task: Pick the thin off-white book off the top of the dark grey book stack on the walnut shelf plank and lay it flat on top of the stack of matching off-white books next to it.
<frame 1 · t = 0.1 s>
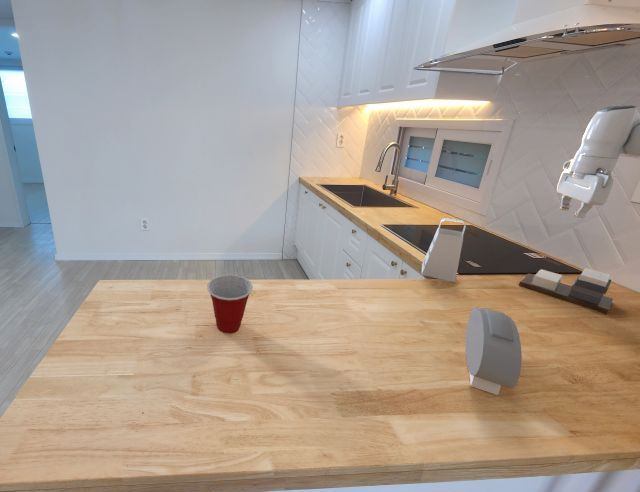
hand: (570, 213, 101), 27 cm above the counter, tool pointing down, fingers open, 8 cm apart
alarm clock: (480, 367, 75), on the counter
plastic cup: (227, 327, 84), on the counter
shelf plank: (562, 293, 112), on the counter
white stack: (545, 283, 115), resting on shelf plank
white book: (593, 279, 106), point 7 cm above the counter, touching grey stack
grater: (437, 273, 122), on the counter
grey stack: (585, 295, 108), resting on shelf plank
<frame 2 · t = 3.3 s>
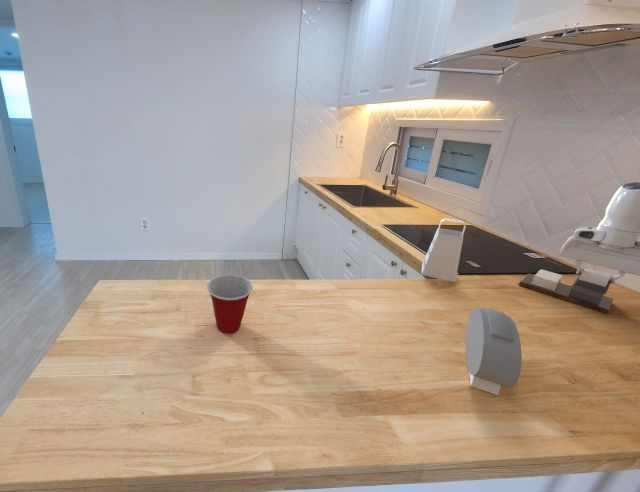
hand: (594, 278, 106), 8 cm above the counter, tool pointing down, fingers closed on white book, 6 cm apart
white book: (593, 279, 106), point 7 cm above the counter, touching grey stack, gripper
everything else where it was.
when the fingers open (5 cm above the counter, at t = 10.3 s): white book stays where it is, resting on white stack.
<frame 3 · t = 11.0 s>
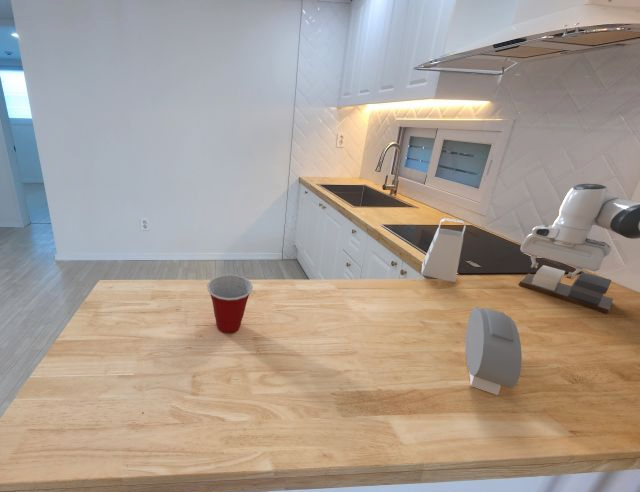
hand: (551, 272, 114), 6 cm above the counter, tool pointing down, fingers open, 8 cm apart
white book: (549, 275, 114), point 5 cm above the counter, touching white stack
everything else where it was.
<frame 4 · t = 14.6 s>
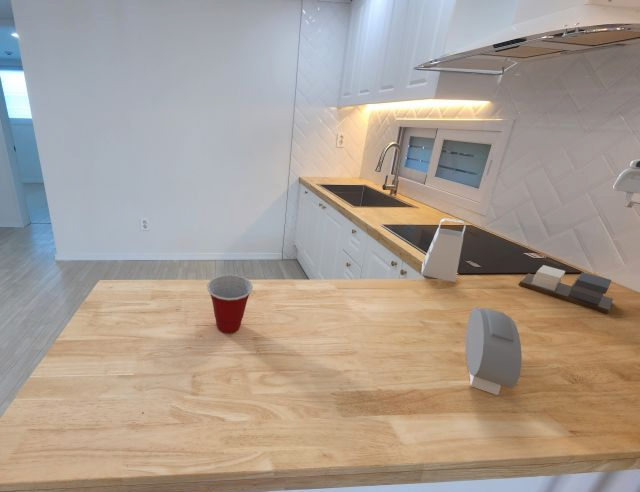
nothing on the counter moved.
at the end: white book 0.0 cm off-centre on the white stack, point 3.2 cm above the white stack's base; white book touching white stack; white book tilted 0° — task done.
